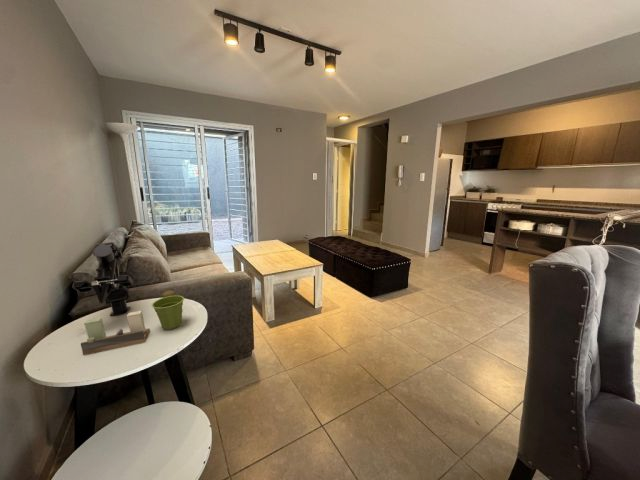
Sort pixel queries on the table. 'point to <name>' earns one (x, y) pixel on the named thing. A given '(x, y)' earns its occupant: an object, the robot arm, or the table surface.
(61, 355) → the table surface
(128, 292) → the robot arm
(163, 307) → the plant pot
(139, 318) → the beige rectangular block
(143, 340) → the brown wooden rack
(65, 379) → the table surface
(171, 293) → the cork
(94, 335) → the pale green tall block
